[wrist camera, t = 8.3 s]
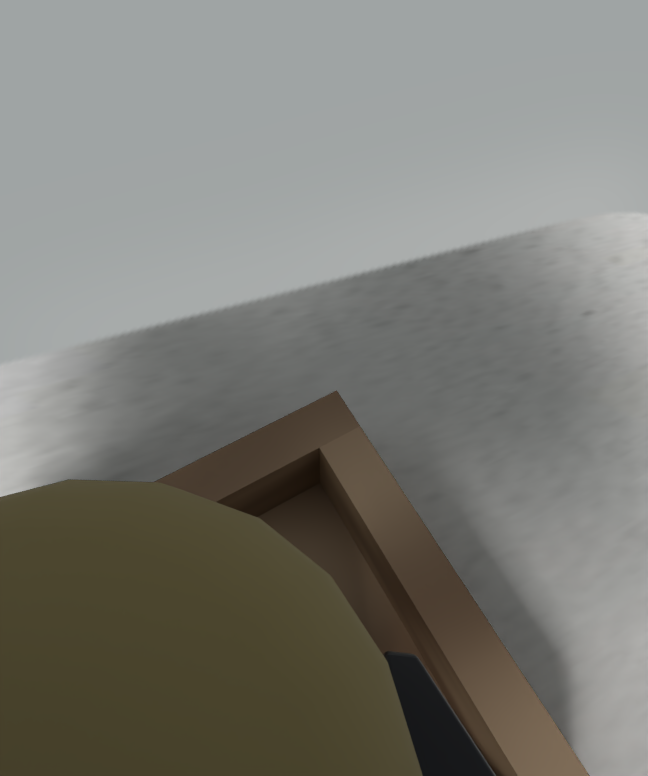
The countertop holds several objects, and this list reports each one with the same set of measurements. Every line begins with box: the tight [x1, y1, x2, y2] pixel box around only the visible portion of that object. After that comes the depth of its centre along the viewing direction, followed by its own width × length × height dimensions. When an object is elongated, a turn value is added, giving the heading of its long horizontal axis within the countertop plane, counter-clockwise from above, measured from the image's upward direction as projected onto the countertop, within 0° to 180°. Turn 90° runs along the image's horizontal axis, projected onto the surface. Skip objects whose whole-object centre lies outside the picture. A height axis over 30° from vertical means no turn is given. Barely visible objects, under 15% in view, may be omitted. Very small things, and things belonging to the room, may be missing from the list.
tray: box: [155, 391, 589, 776], centre depth 12 cm, size 11×11×4 cm
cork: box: [0, 480, 423, 776], centre depth 7 cm, size 6×6×11 cm
